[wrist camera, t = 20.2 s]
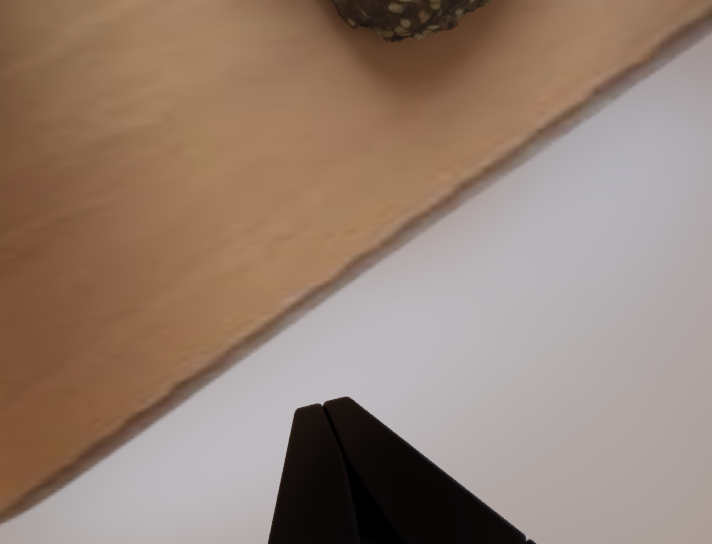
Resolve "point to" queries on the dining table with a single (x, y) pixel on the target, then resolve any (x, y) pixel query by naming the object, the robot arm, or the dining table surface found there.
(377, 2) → the bread roll
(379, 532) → the robot arm
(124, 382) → the dining table surface
